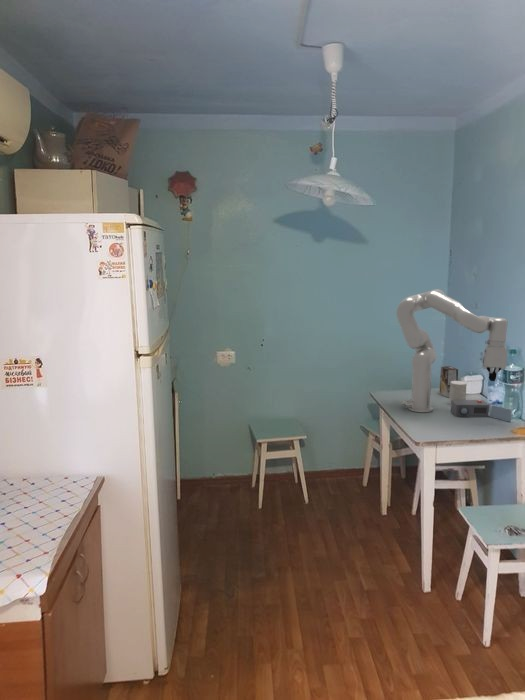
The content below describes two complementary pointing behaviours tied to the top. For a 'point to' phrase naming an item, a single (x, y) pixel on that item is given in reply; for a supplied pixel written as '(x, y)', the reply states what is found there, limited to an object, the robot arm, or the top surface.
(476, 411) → the camera body
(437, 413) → the top surface
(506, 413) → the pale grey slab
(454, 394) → the cup
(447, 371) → the coffee box
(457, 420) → the top surface
